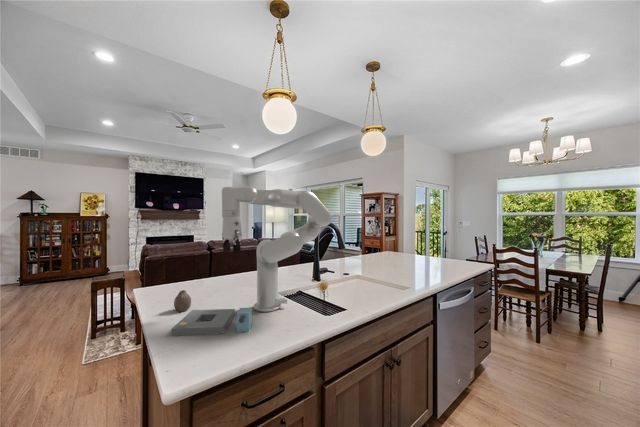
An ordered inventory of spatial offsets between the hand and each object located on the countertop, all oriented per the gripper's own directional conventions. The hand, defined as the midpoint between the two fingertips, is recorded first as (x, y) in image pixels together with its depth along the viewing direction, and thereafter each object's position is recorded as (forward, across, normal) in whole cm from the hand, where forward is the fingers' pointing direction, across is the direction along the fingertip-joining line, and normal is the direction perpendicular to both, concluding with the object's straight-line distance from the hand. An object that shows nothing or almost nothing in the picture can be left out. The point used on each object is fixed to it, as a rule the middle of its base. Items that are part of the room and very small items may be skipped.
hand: (231, 252), depth 117 cm
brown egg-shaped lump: (+26, +17, +16) cm, 35 cm away
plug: (+27, -21, +6) cm, 34 cm away
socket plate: (+26, -6, +14) cm, 30 cm away
